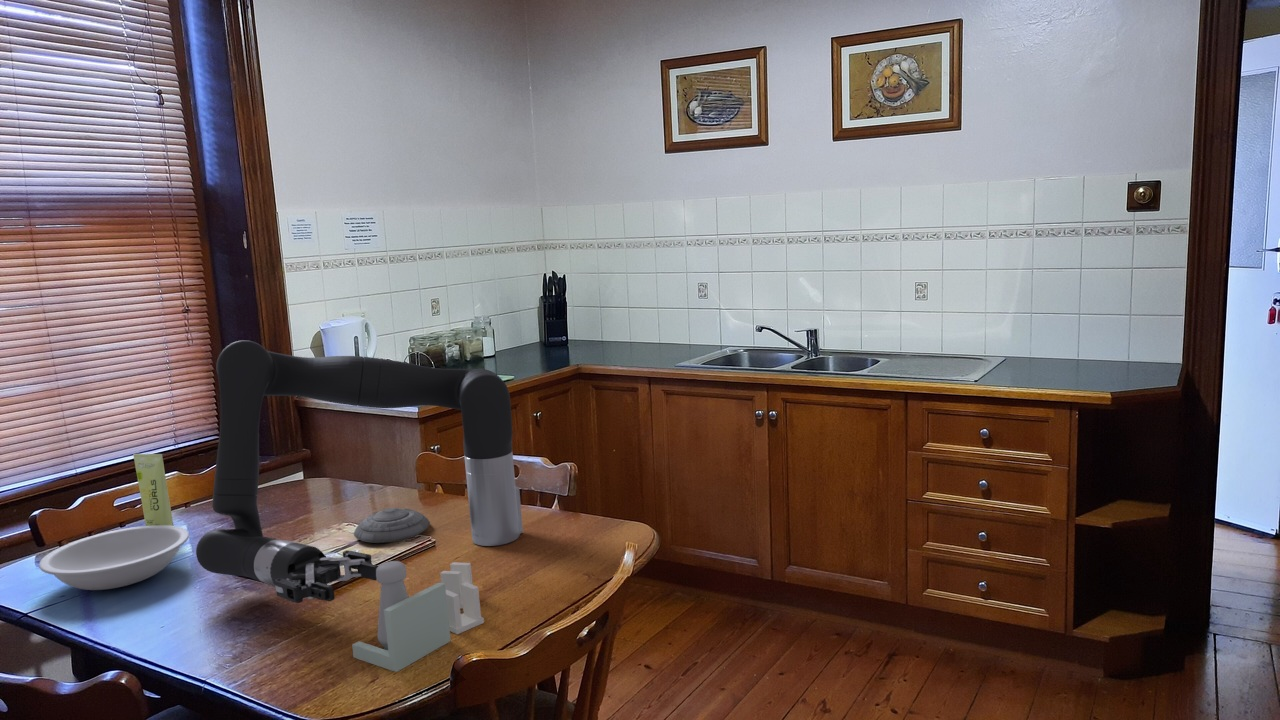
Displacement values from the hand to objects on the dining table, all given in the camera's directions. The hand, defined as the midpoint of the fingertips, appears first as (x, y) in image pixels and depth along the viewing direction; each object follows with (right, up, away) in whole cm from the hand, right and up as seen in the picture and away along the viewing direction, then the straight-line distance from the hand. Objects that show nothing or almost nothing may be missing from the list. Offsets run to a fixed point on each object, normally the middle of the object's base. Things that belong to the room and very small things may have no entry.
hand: (355, 583), depth 137 cm
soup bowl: (-53, -7, +30) cm, 61 cm away
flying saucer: (-7, -2, +47) cm, 48 cm away
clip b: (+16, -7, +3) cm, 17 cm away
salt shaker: (+8, -9, -3) cm, 12 cm away
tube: (-55, -4, +48) cm, 73 cm away
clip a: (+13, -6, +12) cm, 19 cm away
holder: (+8, -9, -4) cm, 12 cm away
